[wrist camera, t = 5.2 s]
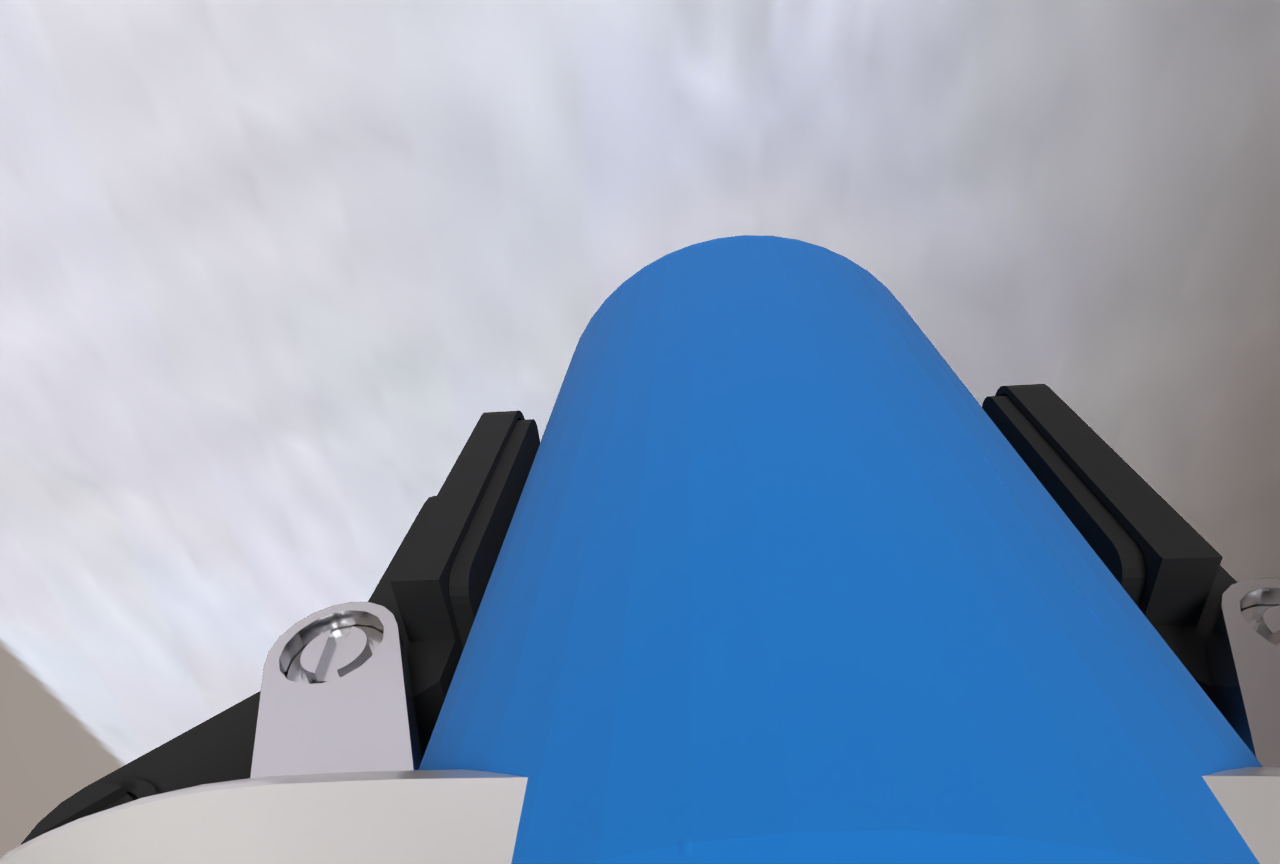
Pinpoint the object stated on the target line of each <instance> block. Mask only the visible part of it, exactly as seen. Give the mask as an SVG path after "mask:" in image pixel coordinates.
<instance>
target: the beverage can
mask: <svg viewBox="0 0 1280 864" xmlns="http://www.w3.org/2000/svg"><path fill="white" fill-rule="evenodd" d="M1245 767H1263V766H1262V765H1261V763H1260V762H1259V761H1258V760H1257V758H1256V757H1255V756H1254V754H1253V753H1252V752H1251V751H1250V749H1249V748H1248V747H1247V745H1246V744H1245V743H1244V742H1243V740H1242V739H1241V738H1240V737H1239V735H1238V734H1237V733H1236V731H1235V730H1234V729H1233V728H1232V726H1231V725H1230V724H1229V722H1228V721H1227V720H1226V719H1225V717H1224V716H1223V715H1222V714H1221V712H1220V711H1219V710H1218V708H1217V707H1216V706H1215V705H1214V703H1213V702H1212V701H1211V699H1210V698H1209V697H1208V696H1207V694H1206V693H1205V692H1204V691H1203V689H1202V688H1201V687H1200V685H1199V684H1198V683H1197V682H1196V680H1195V679H1194V678H1193V677H1192V675H1191V674H1190V673H1189V671H1188V670H1187V669H1186V668H1185V666H1184V665H1183V664H1182V662H1181V661H1180V660H1179V659H1178V657H1177V656H1176V655H1175V654H1174V652H1173V651H1172V650H1171V648H1170V647H1169V646H1168V645H1167V643H1166V642H1165V641H1164V639H1163V638H1162V637H1161V636H1160V634H1159V633H1158V632H1157V631H1156V629H1155V628H1154V627H1153V625H1152V624H1151V623H1150V622H1149V620H1148V619H1147V618H1146V617H1145V615H1144V614H1143V613H1142V611H1141V610H1140V609H1139V608H1138V606H1137V605H1136V604H1135V602H1134V601H1133V600H1132V599H1131V597H1130V596H1129V595H1128V594H1127V592H1126V591H1125V590H1124V588H1123V587H1122V586H1121V585H1120V583H1119V582H1118V581H1117V579H1116V578H1115V577H1114V576H1113V574H1112V573H1111V572H1110V571H1109V569H1108V568H1107V567H1106V565H1105V564H1104V563H1103V562H1102V560H1101V559H1100V558H1099V556H1098V555H1097V554H1096V553H1095V551H1094V550H1093V549H1092V548H1091V546H1090V545H1089V544H1088V542H1087V541H1086V540H1085V539H1084V537H1083V536H1082V535H1081V534H1080V532H1079V531H1078V530H1077V528H1076V527H1075V526H1074V525H1073V523H1072V522H1071V521H1070V519H1069V518H1068V517H1067V516H1066V514H1065V513H1064V512H1063V511H1062V509H1061V508H1060V507H1059V505H1058V504H1057V503H1056V502H1055V500H1054V499H1053V498H1052V496H1051V495H1050V494H1049V493H1048V491H1047V490H1046V489H1045V488H1044V486H1043V485H1042V484H1041V482H1040V481H1039V480H1038V479H1037V477H1036V476H1035V475H1034V474H1033V472H1032V471H1031V470H1030V468H1029V467H1028V466H1027V465H1026V463H1025V462H1024V461H1023V459H1022V458H1021V457H1020V456H1019V454H1018V453H1017V452H1016V451H1015V449H1014V448H1013V447H1012V445H1011V444H1010V443H1009V442H1008V440H1007V439H1006V438H1005V436H1004V435H1003V434H1002V433H1001V431H1000V430H999V429H998V428H997V426H996V425H995V424H994V422H993V421H992V420H991V419H990V417H989V416H988V415H987V413H986V412H985V411H984V410H983V408H982V407H981V406H980V405H979V403H978V402H977V401H976V399H975V398H974V397H973V396H972V394H971V393H970V392H969V391H968V389H967V388H966V387H965V385H964V384H963V383H962V382H961V380H960V379H959V378H958V376H957V375H956V374H955V373H954V371H953V370H952V369H951V368H950V366H949V365H948V364H947V362H946V361H945V360H944V359H943V357H942V356H941V355H940V353H939V352H938V351H937V350H936V348H935V347H934V346H933V345H932V343H931V342H930V341H929V339H928V338H927V337H926V336H925V334H924V333H923V332H922V331H921V329H920V328H919V327H918V325H917V324H916V323H915V322H914V320H913V319H912V318H911V316H910V315H909V314H908V313H907V311H906V310H905V309H904V308H903V306H902V305H901V304H900V303H899V302H898V300H897V299H896V298H895V297H894V296H893V295H892V293H891V292H890V291H889V290H888V289H887V288H886V287H885V286H884V285H883V284H882V283H881V282H880V281H878V280H877V279H876V278H875V277H874V276H873V275H871V274H870V273H869V272H868V271H866V270H865V269H863V268H862V267H860V266H859V265H857V264H855V263H854V262H852V261H851V260H849V259H847V258H846V257H844V256H841V255H839V254H837V253H835V252H832V251H830V250H828V249H826V248H823V247H820V246H817V245H813V244H810V243H807V242H803V241H800V240H795V239H788V238H782V237H775V236H745V235H744V236H735V237H727V238H718V239H714V240H710V241H706V242H702V243H698V244H694V245H690V246H688V247H685V248H683V249H680V250H678V251H675V252H672V253H670V254H667V255H665V256H664V257H662V258H660V259H658V260H656V261H655V262H653V263H651V264H649V265H647V266H645V267H644V268H642V269H641V270H640V271H638V272H637V273H636V274H634V275H633V276H632V277H630V278H629V279H628V280H626V281H625V282H624V283H623V284H622V285H621V286H619V287H618V288H617V289H616V290H615V291H614V292H613V293H612V294H611V295H610V296H609V297H608V298H607V299H606V300H605V302H604V303H603V304H602V305H601V307H600V308H599V309H598V311H597V312H596V313H595V314H594V316H593V317H592V318H591V320H590V322H589V324H588V325H587V327H586V329H585V330H584V332H583V334H582V336H581V337H580V340H579V342H578V345H577V347H576V350H575V352H574V355H573V357H572V360H571V362H570V365H569V368H568V370H567V373H566V376H565V378H564V381H563V384H562V386H561V389H560V392H559V394H558V397H557V400H556V403H555V405H554V408H553V411H552V413H551V416H550V419H549V421H548V424H547V427H546V429H545V432H544V435H543V437H542V440H541V443H540V445H539V448H538V451H537V454H536V456H535V459H534V462H533V464H532V467H531V470H530V472H529V475H528V478H527V480H526V483H525V486H524V488H523V491H522V494H521V496H520V499H519V502H518V504H517V507H516V510H515V513H514V515H513V518H512V521H511V523H510V526H509V529H508V531H507V534H506V537H505V539H504V542H503V545H502V547H501V550H500V553H499V555H498V558H497V561H496V563H495V566H494V569H493V572H492V574H491V577H490V580H489V582H488V585H487V588H486V590H485V593H484V596H483V598H482V601H481V604H480V606H479V609H478V612H477V614H476V617H475V620H474V623H473V625H472V628H471V631H470V633H469V636H468V639H467V641H466V644H465V647H464V649H463V652H462V655H461V657H460V660H459V663H458V665H457V668H456V671H455V673H454V676H453V679H452V682H451V684H450V687H449V690H448V692H447V695H446V698H445V700H444V703H443V706H442V708H441V711H440V714H439V716H438V719H437V722H436V724H435V727H434V730H433V733H432V735H431V738H430V741H429V743H428V746H427V749H426V751H425V754H424V757H423V759H422V762H421V765H420V767H419V770H456V769H464V770H476V771H487V772H494V773H503V774H511V775H516V776H522V777H528V780H527V785H526V790H525V796H524V801H523V806H522V811H521V816H520V821H519V826H518V831H517V837H516V842H515V847H514V852H513V857H512V862H511V864H1260V863H1259V862H1258V860H1257V859H1256V857H1255V856H1254V854H1253V853H1252V851H1251V850H1250V848H1249V847H1248V845H1247V844H1246V842H1245V841H1244V839H1243V838H1242V836H1241V835H1240V833H1239V832H1238V830H1237V829H1236V827H1235V826H1234V824H1233V823H1232V821H1231V819H1230V818H1229V816H1228V815H1227V813H1226V812H1225V810H1224V809H1223V807H1222V806H1221V804H1220V803H1219V801H1218V800H1217V798H1216V797H1215V795H1214V794H1213V792H1212V791H1211V789H1210V788H1209V786H1208V785H1207V783H1206V782H1205V780H1204V779H1203V777H1202V776H1204V775H1210V774H1213V773H1216V772H1220V771H1224V770H1230V769H1240V768H1245Z"/></svg>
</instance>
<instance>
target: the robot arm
mask: <svg viewBox="0 0 1280 864" xmlns="http://www.w3.org/2000/svg"><path fill="white" fill-rule="evenodd" d="M982 408H983V410H984V411H985V412H986V413H987V415H988V416H989V417H990V419H991V420H992V421H993V422H994V424H995V425H996V426H997V428H998V429H999V430H1000V431H1001V433H1002V434H1003V435H1004V436H1005V438H1006V439H1007V440H1008V442H1009V443H1010V444H1011V445H1012V447H1013V448H1014V449H1015V451H1016V452H1017V453H1018V454H1019V456H1020V457H1021V458H1022V459H1023V461H1024V462H1025V463H1026V465H1027V466H1028V467H1029V468H1030V470H1031V471H1032V472H1033V474H1034V475H1035V476H1036V477H1037V479H1038V480H1039V481H1040V482H1041V484H1042V485H1043V486H1044V488H1045V489H1046V490H1047V491H1048V493H1049V494H1050V495H1051V496H1052V498H1053V499H1054V500H1055V502H1056V503H1057V504H1058V505H1059V507H1060V508H1061V509H1062V511H1063V512H1064V513H1065V514H1066V516H1067V517H1068V518H1069V519H1070V521H1071V522H1072V523H1073V525H1074V526H1075V527H1076V528H1077V530H1078V531H1079V532H1080V534H1081V535H1082V536H1083V537H1084V539H1085V540H1086V541H1087V542H1088V544H1089V545H1090V546H1091V548H1092V549H1093V550H1094V551H1095V553H1096V554H1097V555H1098V556H1099V558H1100V559H1101V560H1102V562H1103V563H1104V564H1105V565H1106V567H1107V568H1108V569H1109V571H1110V572H1111V573H1112V574H1113V576H1114V577H1115V578H1116V579H1117V581H1118V582H1119V583H1120V585H1121V586H1122V587H1123V588H1124V590H1125V591H1126V592H1127V594H1128V595H1129V596H1130V597H1131V599H1132V600H1133V601H1134V602H1135V604H1136V605H1137V606H1138V608H1139V609H1140V610H1141V611H1142V613H1143V614H1144V615H1145V617H1146V618H1147V619H1148V620H1149V622H1150V623H1151V624H1152V625H1153V627H1154V628H1155V629H1156V631H1157V632H1158V633H1159V634H1160V636H1161V637H1162V638H1163V639H1164V641H1165V642H1166V643H1167V645H1168V646H1169V647H1170V648H1171V650H1172V651H1173V652H1174V654H1175V655H1176V656H1177V657H1178V659H1179V660H1180V661H1181V662H1182V664H1183V665H1184V666H1185V668H1186V669H1187V670H1188V671H1189V673H1190V674H1191V675H1192V677H1193V678H1194V679H1195V680H1196V682H1197V683H1198V684H1199V685H1200V687H1201V688H1202V689H1203V691H1204V692H1205V693H1206V694H1207V696H1208V697H1209V698H1210V699H1211V701H1212V702H1213V703H1214V705H1215V706H1216V707H1217V708H1218V710H1219V711H1220V712H1221V714H1222V715H1223V716H1224V717H1225V719H1226V720H1227V721H1228V722H1229V724H1230V725H1231V726H1232V728H1233V729H1234V730H1235V731H1236V733H1237V734H1238V735H1239V737H1240V738H1241V739H1242V740H1243V742H1244V743H1245V744H1246V745H1247V747H1248V748H1249V749H1250V751H1251V752H1252V753H1253V754H1254V756H1255V757H1256V758H1257V760H1258V761H1259V762H1260V763H1261V765H1262V766H1263V767H1245V768H1240V769H1230V770H1224V771H1220V772H1216V773H1213V774H1210V775H1204V776H1202V777H1203V779H1204V780H1205V782H1206V783H1207V785H1208V786H1209V788H1210V789H1211V791H1212V792H1213V794H1214V795H1215V797H1216V798H1217V800H1218V801H1219V803H1220V804H1221V806H1222V807H1223V809H1224V810H1225V812H1226V813H1227V815H1228V816H1229V818H1230V819H1231V821H1232V823H1233V824H1234V826H1235V827H1236V829H1237V830H1238V832H1239V833H1240V835H1241V836H1242V838H1243V839H1244V841H1245V842H1246V844H1247V845H1248V847H1249V848H1250V850H1251V851H1252V853H1253V854H1254V856H1255V857H1256V859H1257V860H1258V862H1259V863H1260V864H1280V579H1274V578H1261V579H1247V580H1244V581H1241V582H1238V583H1237V582H1236V581H1235V580H1234V579H1233V578H1232V577H1231V576H1230V575H1229V574H1228V573H1227V572H1226V571H1225V570H1224V569H1223V568H1222V567H1221V566H1220V563H1221V560H1222V556H1221V555H1220V554H1219V553H1218V552H1217V551H1216V550H1215V549H1214V548H1213V547H1212V546H1211V545H1210V544H1209V543H1208V542H1207V541H1206V540H1205V539H1203V538H1202V537H1201V536H1200V535H1199V534H1198V533H1197V532H1196V531H1195V530H1194V529H1193V528H1192V527H1191V526H1190V525H1189V524H1188V523H1187V522H1186V521H1185V520H1184V519H1183V518H1182V517H1181V516H1180V515H1179V514H1178V513H1177V512H1176V511H1175V510H1174V509H1173V508H1172V507H1171V506H1170V505H1169V504H1168V503H1167V502H1166V501H1165V500H1164V499H1163V498H1162V497H1161V496H1160V495H1159V494H1158V493H1156V492H1155V491H1154V490H1153V489H1152V488H1151V487H1150V486H1149V485H1148V484H1147V483H1146V482H1145V481H1144V480H1143V479H1142V478H1141V477H1140V476H1139V475H1138V474H1137V473H1136V472H1135V471H1134V470H1133V469H1132V468H1131V467H1130V466H1129V465H1128V464H1127V463H1126V462H1125V461H1124V460H1123V459H1122V458H1121V457H1120V456H1119V455H1118V454H1117V453H1116V452H1115V451H1114V450H1113V449H1112V448H1110V447H1109V446H1108V445H1107V444H1106V443H1105V442H1104V441H1103V440H1102V439H1101V438H1100V437H1099V436H1098V435H1097V434H1096V433H1095V432H1094V431H1093V430H1092V429H1091V428H1090V427H1089V426H1088V425H1087V424H1086V423H1085V422H1084V421H1083V420H1082V419H1081V418H1080V417H1079V416H1078V415H1077V414H1076V413H1075V412H1074V411H1073V410H1072V409H1071V408H1070V407H1069V406H1068V405H1067V404H1066V403H1064V402H1063V401H1062V400H1061V399H1060V398H1059V397H1058V396H1057V395H1056V394H1055V393H1054V392H1053V391H1052V390H1051V389H1050V388H1049V387H1048V386H1046V385H1045V384H1035V385H1015V386H1001V387H1000V388H999V389H998V391H997V393H996V395H995V396H992V397H987V398H985V400H984V402H983V405H982ZM539 445H540V439H539V434H538V429H537V425H536V422H535V420H534V419H533V420H525V419H524V416H523V414H522V413H521V411H508V412H489V413H483V414H482V416H481V418H480V419H479V421H478V423H477V425H476V427H475V428H474V430H473V432H472V434H471V436H470V437H469V439H468V441H467V443H466V445H465V446H464V448H463V450H462V452H461V454H460V455H459V457H458V459H457V461H456V463H455V464H454V466H453V468H452V470H451V472H450V473H449V475H448V477H447V479H446V481H445V483H444V484H443V486H442V488H441V490H440V492H439V493H438V495H437V496H433V497H429V498H428V500H427V501H426V502H425V503H424V505H423V507H422V508H421V510H420V512H419V514H418V515H417V517H416V519H415V521H414V522H413V524H412V526H411V528H410V529H409V531H408V533H407V535H406V536H405V538H404V540H403V542H402V543H401V545H400V547H399V549H398V550H397V552H396V554H395V556H394V557H393V559H392V561H391V563H390V564H389V566H388V568H387V570H386V571H385V573H384V575H383V577H382V578H381V580H380V582H379V584H378V585H377V587H376V589H375V591H374V592H373V594H372V596H371V598H370V599H369V601H368V602H349V603H344V604H339V605H334V606H331V607H328V608H325V609H323V610H320V611H318V612H315V613H313V614H311V615H309V616H308V617H306V618H304V619H302V620H301V621H299V622H297V623H296V624H294V625H293V626H292V627H291V628H290V629H288V630H287V631H286V632H285V633H284V634H283V635H281V636H280V637H279V639H278V640H277V641H276V643H275V644H274V645H273V647H272V648H271V649H270V651H269V653H268V655H267V658H266V661H265V664H264V669H263V678H262V686H261V691H260V692H258V693H256V694H254V695H252V696H251V697H249V698H247V699H245V700H243V701H241V702H240V703H238V704H236V705H234V706H232V707H231V708H229V709H227V710H225V711H223V712H221V713H220V714H218V715H216V716H214V717H212V718H210V719H209V720H207V721H205V722H203V723H201V724H200V725H198V726H196V727H194V728H192V729H190V730H189V731H187V732H185V733H183V734H181V735H179V736H178V737H176V738H174V739H172V740H170V741H169V742H167V743H165V744H163V745H161V746H159V747H158V748H156V749H154V750H152V751H150V752H149V753H147V754H145V755H143V756H141V757H139V758H138V759H136V760H134V761H132V762H130V763H128V764H127V765H125V766H123V767H121V768H119V769H118V770H116V771H114V772H112V773H110V774H108V775H107V776H105V777H103V778H101V779H99V780H98V781H96V782H94V783H92V784H90V785H88V786H87V787H85V788H83V789H82V790H80V791H79V792H77V793H76V794H74V795H73V796H71V797H70V798H68V799H66V800H65V801H63V802H62V803H61V804H59V805H58V806H57V807H56V808H55V809H54V810H53V811H52V812H50V813H49V814H48V815H47V816H46V817H45V818H43V819H42V820H41V821H40V822H39V823H38V824H37V825H36V827H35V828H34V829H33V830H32V831H31V833H30V834H29V835H28V836H27V837H26V839H25V840H24V841H23V842H22V843H21V845H19V846H17V847H16V848H13V849H11V850H10V851H8V852H7V853H5V854H3V855H2V856H0V864H511V862H512V857H513V852H514V847H515V842H516V837H517V831H518V826H519V821H520V816H521V811H522V806H523V801H524V796H525V790H526V785H527V780H528V777H522V776H516V775H511V774H503V773H494V772H487V771H476V770H464V769H456V770H419V767H420V765H421V762H422V759H423V757H424V754H425V751H426V749H427V746H428V743H429V741H430V738H431V735H432V733H433V730H434V727H435V724H436V722H437V719H438V716H439V714H440V711H441V708H442V706H443V703H444V700H445V698H446V695H447V692H448V690H449V687H450V684H451V682H452V679H453V676H454V673H455V671H456V668H457V665H458V663H459V660H460V657H461V655H462V652H463V649H464V647H465V644H466V641H467V639H468V636H469V633H470V631H471V628H472V625H473V623H474V620H475V617H476V614H477V612H478V609H479V606H480V604H481V601H482V598H483V596H484V593H485V590H486V588H487V585H488V582H489V580H490V577H491V574H492V572H493V569H494V566H495V563H496V561H497V558H498V555H499V553H500V550H501V547H502V545H503V542H504V539H505V537H506V534H507V531H508V529H509V526H510V523H511V521H512V518H513V515H514V513H515V510H516V507H517V504H518V502H519V499H520V496H521V494H522V491H523V488H524V486H525V483H526V480H527V478H528V475H529V472H530V470H531V467H532V464H533V462H534V459H535V456H536V454H537V451H538V448H539Z"/></svg>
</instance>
